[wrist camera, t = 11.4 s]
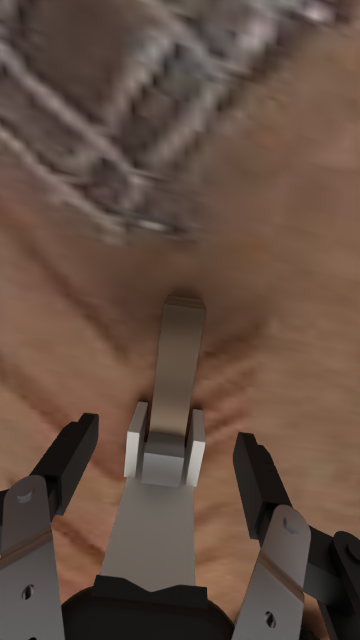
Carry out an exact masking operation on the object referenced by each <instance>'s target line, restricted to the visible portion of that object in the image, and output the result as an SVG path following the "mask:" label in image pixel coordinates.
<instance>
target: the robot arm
mask: <svg viewBox="0 0 360 640" xmlns="http://www.w3.org/2000/svg"><path fill="white" fill-rule="evenodd" d="M98 424H99V416H98V414H92V413H84V414H83V415H82V416H81V418H80V419H79V421H78V422H71V423H69V424H68V425H67V426H65V427H64V428H63V429H62V430H61V432H60V433H59V435H58V436H57V438H56V439H55V440H54V442H53V443H52V445H51V446H50V447H49V449H48V450H47V451H46V453H45V454H44V456H43V457H42V458H41V460H40V461H39V463H38V464H37V465H36V467H35V468H34V470H33V471H32V472H31V474H30V475H29V476H27V477H25V478H23V479H21V480H19V481H18V482H16V483H15V484H14V485H13V486H12V487H11V488H10V489H7V490H4V491H0V555H1V558H0V640H299V635H300V628H301V622H302V615H303V608H304V594H303V592H305V593H306V594H308V595H310V596H312V597H313V598H315V599H317V602H318V605H319V608H320V611H321V614H322V617H323V619H324V622H325V625H326V628H327V631H328V634H329V637H330V640H360V540H359V539H358V538H356V537H355V536H353V535H352V534H350V533H347V532H344V531H338V532H336V533H335V535H334V537H332V536H329V535H327V534H325V533H323V532H321V531H319V530H317V529H315V528H313V527H311V526H309V525H308V524H307V522H306V520H305V519H304V517H303V516H302V515H301V514H300V513H299V512H298V511H297V510H295V509H294V508H293V507H292V504H291V502H290V500H289V497H288V495H287V493H286V490H285V488H284V486H283V483H282V481H281V479H280V476H279V474H278V473H277V469H276V467H275V466H274V462H273V460H272V458H271V455H270V453H269V452H268V451H267V450H266V449H265V447H264V446H263V445H258V444H257V442H256V439H255V437H254V435H253V434H251V433H243V432H239V433H238V436H237V440H236V444H235V448H234V452H233V465H234V469H235V474H236V478H237V483H238V487H239V491H240V496H241V500H242V504H243V509H244V513H245V518H246V522H247V526H248V531H249V535H250V539H257V540H259V543H260V547H261V549H260V552H259V555H258V558H257V561H256V564H255V567H254V570H253V573H252V576H251V579H250V582H249V585H248V588H247V590H246V593H245V596H244V599H243V602H242V605H241V608H240V611H239V614H238V617H237V619H236V622H235V625H234V624H233V623H232V621H231V620H230V619H229V617H228V616H227V615H226V614H225V612H224V611H222V610H221V609H220V608H219V607H218V606H217V605H216V604H214V603H213V602H212V601H210V600H208V599H207V587H199V586H190V585H182V584H179V585H175V586H172V587H168V588H165V589H161V590H158V591H154V592H149V591H147V590H145V589H143V588H141V587H140V586H138V585H136V584H134V583H132V582H130V581H129V580H127V579H125V578H121V577H112V576H103V575H96V579H95V582H94V586H91V587H88V588H86V589H83V590H81V591H79V592H78V593H76V594H75V595H73V596H72V597H70V598H69V599H68V600H67V601H65V602H64V603H63V604H62V605H61V602H60V594H59V585H58V577H57V569H56V560H55V552H54V543H53V535H52V530H51V522H52V520H53V518H54V516H55V515H62V516H63V515H64V512H65V510H66V508H67V506H68V504H69V502H70V500H71V498H72V496H73V494H74V491H75V489H76V487H77V485H78V483H79V481H80V479H81V477H82V475H83V472H84V470H85V468H86V466H87V464H88V462H89V460H90V458H91V456H92V454H93V451H94V449H95V447H96V444H97V440H98Z"/></svg>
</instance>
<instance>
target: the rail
mask: <svg viewBox="0 0 360 640" xmlns="http://www.w3.org/2000/svg"><path fill="white" fill-rule="evenodd" d="M205 313H206V308H205V306H204V303H203V300H200V299H193V298H185V297H178V296H171V295H168V297H167V299H166V301H165V302H164V304H163V313H162V322H161V331H160V340H159V349H158V358H157V367H156V376H155V385H154V393H153V402H152V411H151V420H150V429H149V435H148V439H147V444H146V448H145V452H144V461H143V471H142V480H141V483H146V484H153V485H161V486H168V487H175V488H179V485H180V480H181V474H182V468H183V462H184V445H185V432H186V426H187V420H188V414H189V408H190V402H191V396H192V390H193V384H194V378H195V373H196V367H197V361H198V355H199V349H200V343H201V337H202V331H203V325H204V319H205Z"/></svg>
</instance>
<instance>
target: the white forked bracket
mask: <svg viewBox="0 0 360 640" xmlns="http://www.w3.org/2000/svg"><path fill="white" fill-rule="evenodd" d="M147 409H148V403H147V402H140V401H138V404H137V407H136V410H135V412H134V415H133V418H132V421H131V424H130V426H129V429H128V433H127V445H126V458H125V470H124V477H127V480H126V483H125V487H124V490H123V494H122V497H121V501H120V505H119V508H118V512H117V515H116V519H115V522H114V526H113V529H112V533H111V536H110V540H109V543H108V547H107V550H106V554H105V557H104V561H103V564H102V568H101V572H100V575H103V576H112V577H121V578H125V579H127V580H129V581H130V582H132V583H134V584H136V585H138V586H140V587H141V588H143V589H145V590H147V591H149V592H154V591H158V590H161V589H165V588H168V587H172V586H175V585H179V584H182V585H190V586H195V550H194V502H193V486H194V487H197V482H198V477H199V472H200V467H201V462H202V457H203V453H204V448H205V443H206V442H205V431H204V420H203V410H197V409H193V411H192V417H191V422H190V428H189V434H188V439H187V445H186V448H184V462H183V468H182V474H181V480H180V485H179V488H175V487H168V486H161V485H153V484H146V483H141V480H142V471H143V461H144V452H145V448H146V444H147V442H144V436H145V427H146V418H147Z"/></svg>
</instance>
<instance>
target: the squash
mask: <svg viewBox="0 0 360 640" xmlns="http://www.w3.org/2000/svg"><path fill="white" fill-rule="evenodd" d="M299 640H320V639H319V638H318V637H317V636H316V635H314V634H313V633H312V632H310V631H308V630H306V629H303V628H300V635H299Z"/></svg>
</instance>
